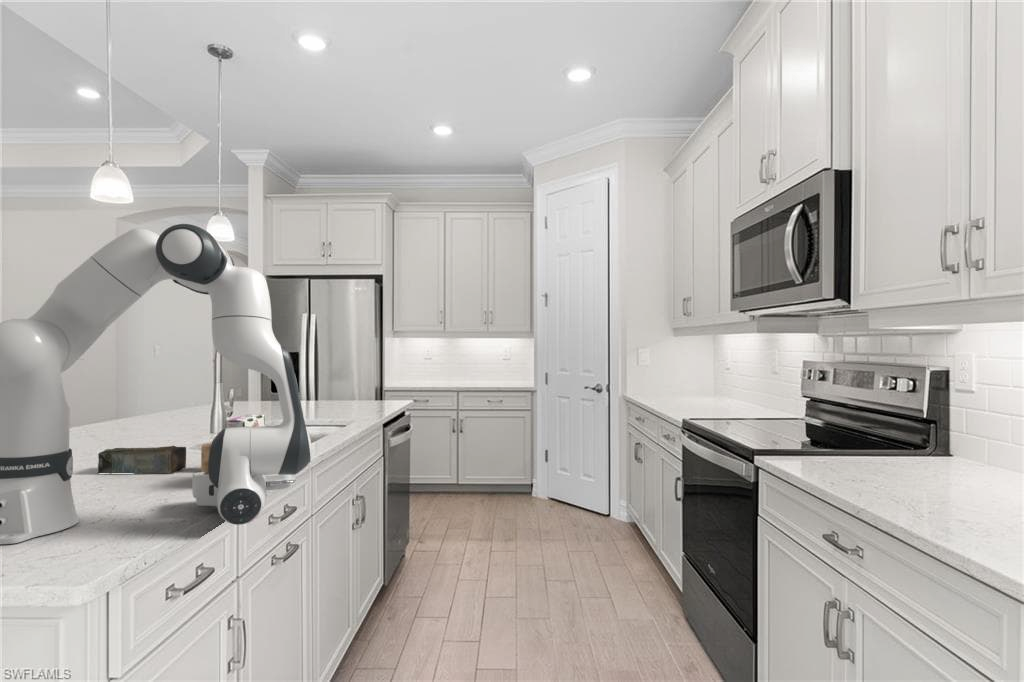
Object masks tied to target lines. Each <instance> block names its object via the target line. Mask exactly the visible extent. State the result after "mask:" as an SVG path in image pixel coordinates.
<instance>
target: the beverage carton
mask: <svg viewBox="0 0 1024 682" xmlns="http://www.w3.org/2000/svg"><path fill="white" fill-rule="evenodd" d="M97 455H98V456H97V458H98V459H97V460H98V463H97V470H98V472H97V474H98V473H142V474H141V475H154V474H155V475H167V474H168V475H169V474H170V475H171V474H174V472H175V473H177V472H179V470H180V471H182V470H184V469H186V468H187V447H186V446H176V445H168V446H159V447H157V446H156V447H115V448H114V447H113V448H107V449H104V450H103V451H100V452H99V453H98V454H97ZM183 468H184V469H183ZM181 469H182V470H181ZM176 471H177V472H176Z"/></svg>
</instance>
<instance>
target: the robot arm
mask: <svg viewBox="0 0 1024 682" xmlns="http://www.w3.org/2000/svg"><path fill="white" fill-rule="evenodd" d="M167 280H171V281H172V282H173V283H175V284H177V285H179V286H182V287H184V288H186V289H188V290H190V291H192V292H195V293H199V294H202V295H209V298H210V300H211V336H212V337H211V338H212V343H213V346H214V348H215V350H216V352H217V353H218V354H219V355H220V356H221V357H222V358H223V359H225V360H227V361H228V362H230V363H232V364H234V365H237V366H239V367H242V368H246V369H248V370H252V371H255V372H257V373H260V374H263V375H265V376H267V377H268V378H269V379H270V380H272V382H273V383H274V384H275V387H276V390H277V396H278V401H279V406H280V411H281V416H282V422H281V423H280V424H277V425H265V426H258V427H251V433H250V427H234V428H226V427H225V428H223V429H221V430H220V431H219V432H218V433H217V434H216V436H215V437H214V438H213V439H212V441H211V443H212V444H211V443H210V444H211V448H210V453H209V461H208V472H201V471H200V472H194V473H192V477H191V478H192V480H191V483H192V488H191V492H192V493H191V494H192V496H193V498H194V499H195V500H196V505H197V506H200V507H201V506H202V507H216V508H217V511H218V515H220V518H221V519H223V520H224V521H225V522H226V523H228V524H232V525H238V526H240V525H245V524H248V523H251V522H252V521H254V520H255V519H257V518H258V517H259V516H260V514H262V511H263V510H264V508H265V505H266V502H267V501H266V500H267V491H277V490H278V491H279V490H286V489H288V488H290V487H292V485H293V484H295V483H296V477H295V476H293V475H297V474H299V473H300V472H301V471H303V470H304V469H305V468H306V467H307V466H308V465H309V464H310V463H311V459H312V454H313V445H312V440H311V436H310V434H309V431H308V429H307V426H306V423H305V422H306V421H305V417H304V413H303V412H304V411H303V408H302V402H301V396H300V392H299V386H298V382H297V377H296V373H295V369H294V364H293V360H292V357H291V354H290V351H289V350H288V348H287V347H286V346H285V345H282V344H280V343H279V341H278V340H277V338H276V336H275V334H274V331H273V325H272V324H273V323H272V320H273V319H272V305H271V298H270V296H271V295H270V290H269V287H268V282H267V279H266V278H265V276H264V274H262V273H261V272H260V271H258V270H256V269H254V268H251V267H246V266H236V264H235V263H234V260H233V258H232V256H231V255H230V254H229V252H228V250H227V249H226V248H225V246H224V245H223V244H222V243H221V241H220V242H219V240H217V239H216V238H215V237H214V236H212V234H211V233H210V232H208V231H207V230H205V229H204V228H201V227H199V225H198V226H197V225H193V224H189V223H181V224H180V223H178V224H174V225H171V226H169V227H167V228H166V229H165V230H164V231H162V232H161V234H160V235H159V234H158V233H156V232H154V231H153V230H149V229H147V228H143V227H142V228H141V227H138V228H137V227H136V228H132V229H130V230H128V231H126V232H125V233H123V234H121V235H119V236H118V237H116V238H114V239H113V240H111V241H110V242H107V244H105V245H104V246H102V247H101V248H99V249H98V250H97V251H96V252H95V253H93V254H92V255H91V256H90V257H88V258H87V259H86V260H85V261H84V262H82V263H81V264H80V265H79V266H77V267H76V269H74V270H73V271H72V272H71V273H69V274H68V275H67V276H66V277H65V278H64V279H62V280H61V281H60V282H59V283H57V285H56V286H55V288H54V290H53V292H52V293H51V294H50V296H49V297H48V298H47V300H46V301H45V302H44V303H43V304H42V305H41V307H40V308H39V309H38V310H37V311H36V312H35V313H33V315H31V316H30V317H29V318H11V319H6V320H4V321H0V545H10V544H11V545H12V544H18V543H21V542H24V541H27V540H30V539H34V538H36V537H40V536H45V535H49V534H53V533H57V532H60V531H63V530H65V529H68V528H71V527H73V526H74V525H76V524H78V523H79V522H80V518H79V515H78V513H77V509H76V506H75V505H76V504H75V503H74V497H73V491H72V485H71V484H72V483H71V482H72V481H71V479H72V476H73V472H74V471H73V469H74V456H73V449H72V448H70V422H71V421H70V420H71V419H70V417H71V416H70V415H71V414H70V409H71V408H70V406H69V404H68V402H67V398H66V396H65V390H64V385H63V380H62V379H63V378H62V374H63V373H64V372H65V371H67V370H69V369H70V368H71V367H72V366H73V365H74V364H75V363H76V362H77V361H78V360H79V359H80V358H81V357H82V356H83V355H84V354H86V352H87V351H88V350H89V349H90V348H91V347H92V345H94V344H95V342H96V341H97V340H98V339H99V338H100V337H101V336H102V334H103V333H104V332H105V331H106V330H107V329H108V327H109V326H111V325H112V323H114V322H115V321H116V320H117V319H118V318H120V316H122V315H123V314H125V312H127V310H129V309H130V307H132V306H133V305H134V304H135V303H136V302H137V301H139V300H140V299H141V298H142V297H143V296H144V295H146V294H147V292H149V291H150V289H151V288H153V287H155V285H157V284H158V283H160V282H163V281H167Z"/></svg>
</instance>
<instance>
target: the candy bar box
mask: <svg viewBox="0 0 1024 682" xmlns="http://www.w3.org/2000/svg"><path fill="white" fill-rule="evenodd" d="M265 418H266V417H265V414H258V413H257V414H255V413H253V414H252V413H251V414H245V415H242V416H241V415H240V416H237V417H234V418H231V419H228V420H225V428H234V427H250V433H251V427H258V426H266V425H265V424H266V423H265Z"/></svg>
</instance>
